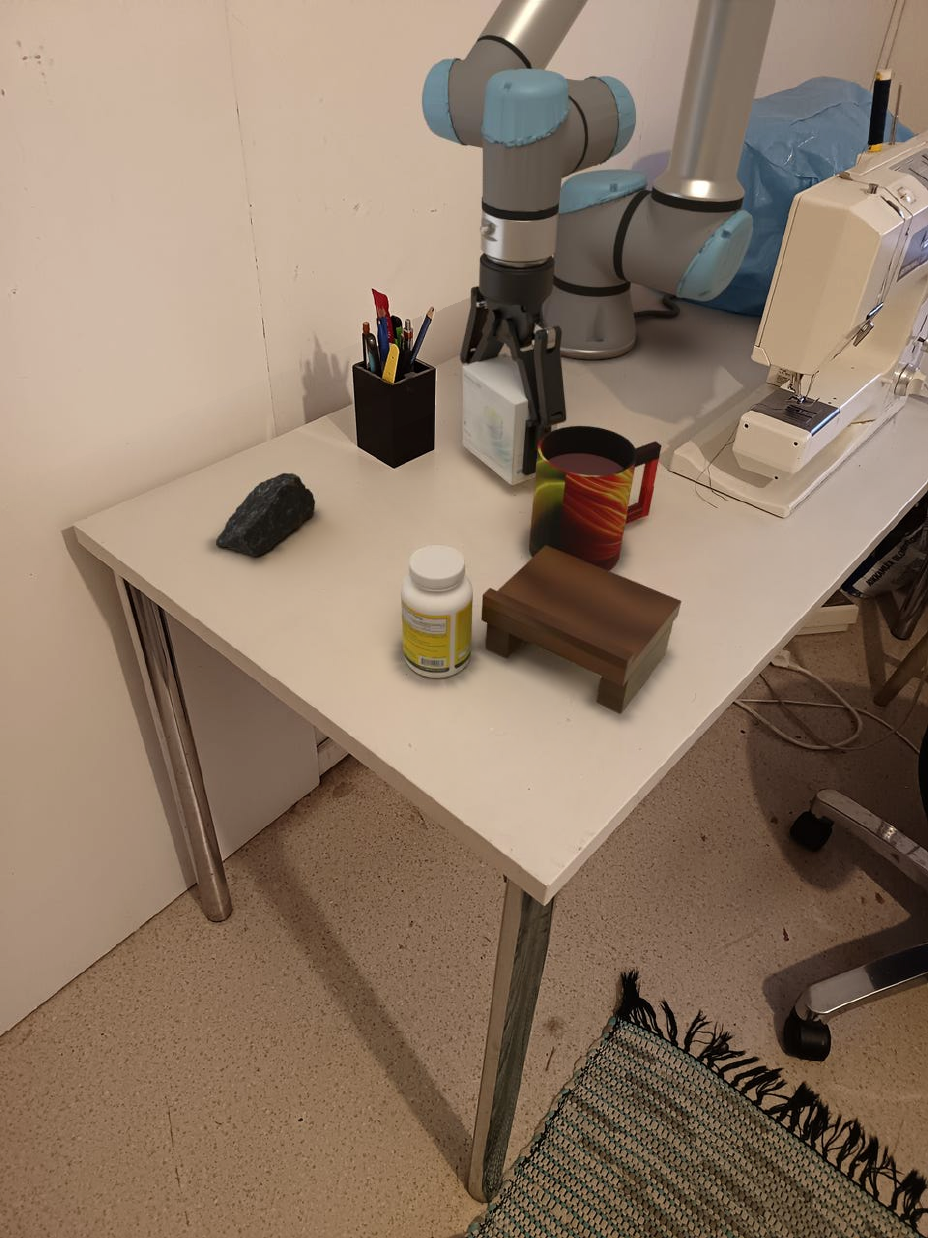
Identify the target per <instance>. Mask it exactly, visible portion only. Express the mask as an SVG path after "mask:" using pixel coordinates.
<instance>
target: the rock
mask: <svg viewBox="0 0 928 1238" xmlns="http://www.w3.org/2000/svg"><path fill="white" fill-rule="evenodd" d="M315 507H316V500H315V498H314V494H313V492H312V491H311V490H310V489H309V488H307V487H306V485H305V484H304V483H303V482H302V479H301V477H300V476H299V475H297V474H295V473H293V472H292V473H288V472H287V473H286V472H282V473H280V474H278V475H276V476H274V477H271V478H268V479H266V480H264V481H261V482H259V483H258V484H257V485H256V486H255V487H254V488H253V490H251V491H250V492H249V493H248V494H247V496H246V497H245V498H244V500H243V501H242V502H241V504H239V505H238V506H237V507H236V509H235V511H234V512H233V513H232V515H231V516H230V517H228V520H227V521H226V523H225V526H224V529H223V530H222V532H221V533H220V534H219V535H217V538H216V540H215V545H216V546H217V547H219V548H220V549H224V548H228V549H229V550H234V551H236V552H237V551H238V552H239V553H242V554H247V555H250V556H252V557H259V556H261V555H262V554H264V553H266V552H267V551H270V550H271V549H272V548H273V547H274V546H275V545H276V544H277V543H279V542H281V541H282V540H283V539H284V538H285V537H288V535H289V534H290V533H291V531H293V530H295V529H298V528H299V527H300V526H301V525H302V523H303V522H305V521H307V520H309V519H311V518H313V517H314V513H315Z"/></svg>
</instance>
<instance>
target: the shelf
mask: <svg viewBox="0 0 928 1238" xmlns="http://www.w3.org/2000/svg"><path fill="white" fill-rule="evenodd" d="M481 601H482V602H481V616H480V617H481V618H480V619H481V621H482V622H483V623H486V632H485V633H486V634H485V649H486V650H488V651H490V652H492V653H493V654H496V655H498V656H500V657H502V658H504V659H506V660H508V659H509V658H510V657H511V656H512V655H513V653H514V652H515V651H517V649H519V647H520V646H521V645H522V644H523V643H524V642H527V643H529V644H532V645H533V646H535V647H538V648H539V649H541V650H543V651H546V652H548V653H550V654H552V655H555V656H557V657H559V658H561V659H562V660H565V661H567V662H569V663H572V664H574V665H576V666H578V667H580V668H582V669H584V670H587V671H589V672H590V673H593V674H595V675H597V676H599V677H600V681H599V685H598V692H597V698H596V703H597V704H599V705H601V706H604V707H605V708H608V709H610V710H611V711H614V712H616V713H618V714H619V715H621V714H623V712H624V710H626V709H627V707H628V705H630V703H631V701H632V700H633V699H634V698H635V696H636V695H637V693H638V692H639V690H641V688H642V687H643V686H644V684H645V683H646V682H647V680H648V679H649V678H650V676H651V675H652V674H653V672H654V671H655V670H656V668H657V667H658V666H659V664H660V663H661V662H662V660H663V659H664V658H665V657H666V653H667V649H668V645H669V641H670V638H671V637H670V636H671V633H672V629H673V624H674V622H675V620H676V619H677V618H678V616H679V614H680V613H679V612H680V609H681V606H682V600H680V599H678V598H676V597H673V596H671V595H668V594H665V593H663V592H661V591H658V590H656V589H654V588H651V587H649V586H646V585H643V584H641V583H639V582H637V581H634V580H632V579H629V578H626V577H625V576H622V575H620V574H618V573H615V572H612V571H610V570H609V571H608V570H605V569H603V568H600V567H598V566H595V565H593V564H591V563H588V562H586V561H583V560H581V559H578V558H576V557H574V556H571V555H569V554H566V553H564V552H561V551H559V550H557V549H554V548H552V547H549V546H547V545H545V546H544V547H543V548H542V549H541V550H540V551H539V552H538V553H537V554H536V555H535V556H534V557H533V558H532V557H531V559H529V560H528V561H527V562H526V563H525V564H524V565H523V566H522V567H521V568H520V569H519V570H517V572H515V573H514V574H513V575H512V576H511V577H510V578H509V579H508V580H507V581H506V582H505V583H503V584H502V586H500V587H499V588H498V590H496V589H493V588H491V587H489V588H487V590H486V591H485V592H484V593H483V594H482V600H481Z"/></svg>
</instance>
